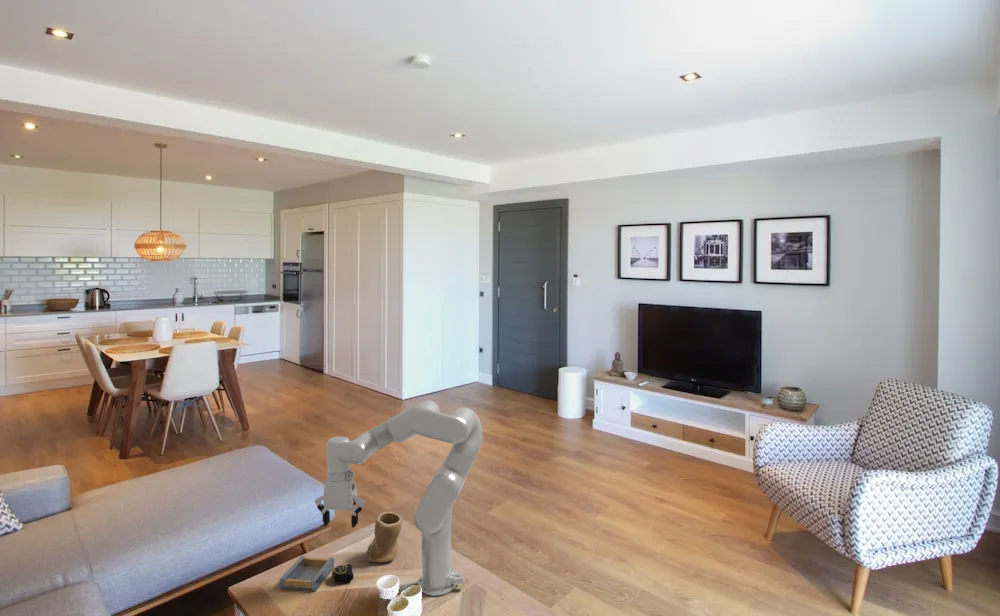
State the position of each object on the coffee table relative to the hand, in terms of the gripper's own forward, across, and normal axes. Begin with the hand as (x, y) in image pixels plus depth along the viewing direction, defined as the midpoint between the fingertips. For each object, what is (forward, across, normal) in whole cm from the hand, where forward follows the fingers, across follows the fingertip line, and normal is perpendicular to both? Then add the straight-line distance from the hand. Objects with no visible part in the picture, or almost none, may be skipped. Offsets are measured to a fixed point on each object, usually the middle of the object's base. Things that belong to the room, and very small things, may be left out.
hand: (340, 525), depth 180 cm
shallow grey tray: (+18, +11, +1) cm, 22 cm away
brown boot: (+19, -9, -17) cm, 27 cm away
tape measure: (+19, -1, 0) cm, 19 cm away
